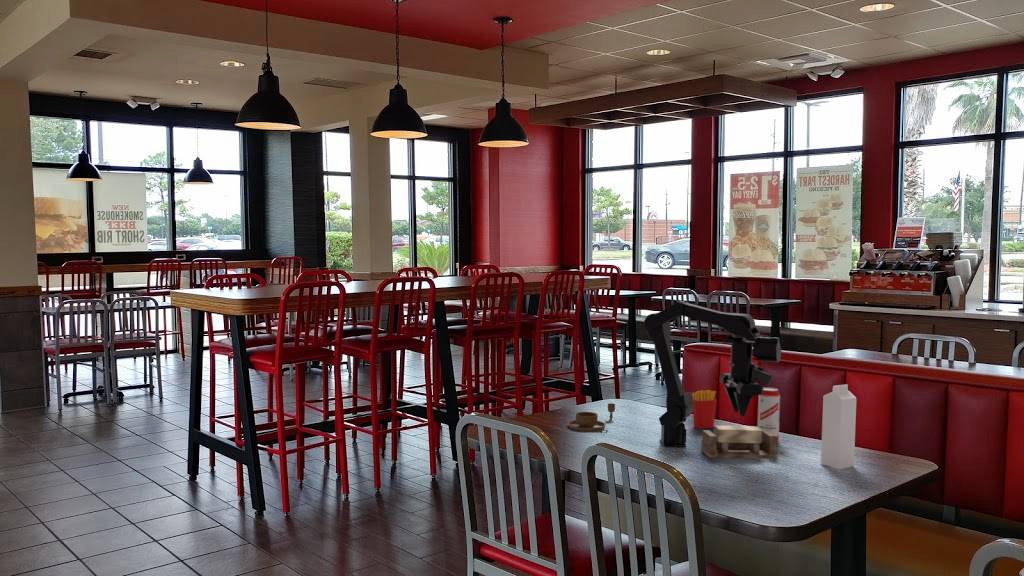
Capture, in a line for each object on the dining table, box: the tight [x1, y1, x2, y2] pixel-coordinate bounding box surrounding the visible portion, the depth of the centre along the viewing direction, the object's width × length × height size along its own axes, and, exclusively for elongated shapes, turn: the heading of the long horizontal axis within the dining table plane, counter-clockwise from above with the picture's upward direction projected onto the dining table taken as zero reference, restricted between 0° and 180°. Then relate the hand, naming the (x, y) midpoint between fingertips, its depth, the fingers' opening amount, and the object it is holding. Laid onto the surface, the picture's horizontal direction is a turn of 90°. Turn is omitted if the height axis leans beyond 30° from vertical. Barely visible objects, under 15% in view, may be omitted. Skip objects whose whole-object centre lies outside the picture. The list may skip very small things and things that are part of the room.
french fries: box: [691, 389, 718, 429], centre depth 258 cm, size 8×4×12 cm, turn 111°
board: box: [713, 425, 762, 443], centre depth 225 cm, size 12×5×4 cm, turn 88°
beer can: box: [756, 386, 781, 443], centre depth 240 cm, size 6×6×16 cm
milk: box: [820, 383, 857, 471], centre depth 214 cm, size 6×6×22 cm
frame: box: [700, 429, 778, 459], centre depth 225 cm, size 19×8×6 cm, turn 94°
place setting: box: [567, 402, 616, 433], centre depth 257 cm, size 18×20×6 cm
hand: (739, 413), depth 225 cm, fingers open, 5 cm apart
